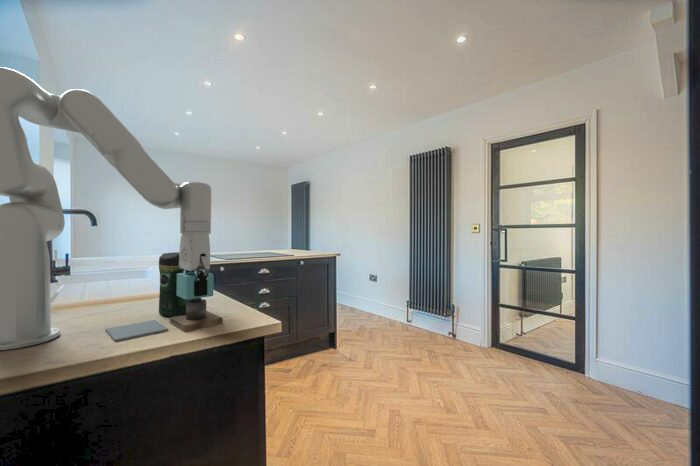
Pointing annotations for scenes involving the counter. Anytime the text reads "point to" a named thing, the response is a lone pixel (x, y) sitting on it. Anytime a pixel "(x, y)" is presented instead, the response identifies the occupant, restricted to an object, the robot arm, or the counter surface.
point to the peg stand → (195, 316)
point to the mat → (135, 330)
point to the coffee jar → (170, 286)
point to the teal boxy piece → (192, 285)
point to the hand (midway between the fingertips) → (195, 292)
